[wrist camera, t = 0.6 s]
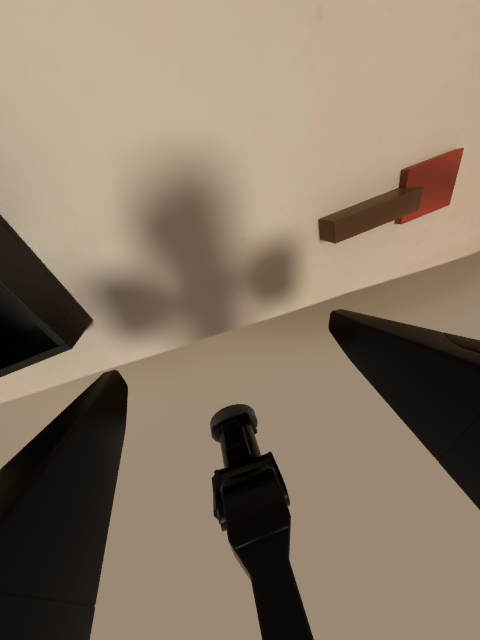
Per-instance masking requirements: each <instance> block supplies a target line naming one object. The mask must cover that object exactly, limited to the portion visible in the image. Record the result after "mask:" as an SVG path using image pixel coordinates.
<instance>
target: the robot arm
mask: <svg viewBox="0 0 480 640" xmlns="http://www.w3.org/2000/svg"><path fill="white" fill-rule="evenodd" d="M329 331H330V332H331V334H332V335H333V337H334V338H335V340H336V341H337V342H338V344H339V345H340V347H341V348H342V350H343V351H344V352H345V354H346V355H347V357H348V358H349V359H350V360H351V362H352V363H353V364H354V365H355V366H356V367H357V369H358V370H359V371H360V372H361V373H362V374H363V376H364V377H365V378H366V379H367V380H368V381H369V382H370V384H371V385H372V386H373V387H374V388H375V389H376V390H377V392H378V393H379V394H380V395H381V396H382V397H383V399H384V400H385V401H386V402H387V403H388V404H389V405H390V407H391V408H392V409H393V410H394V411H395V412H396V413H397V415H398V416H399V417H400V418H401V419H402V420H403V422H404V423H405V424H406V425H407V426H408V427H409V429H410V430H411V431H412V432H413V433H414V434H415V435H416V437H417V438H418V439H419V440H420V441H421V442H422V444H423V445H424V446H425V447H426V448H427V449H428V450H429V452H430V453H431V454H432V455H433V456H434V457H435V458H436V460H437V461H439V463H440V464H441V466H442V467H443V468H444V469H445V470H446V471H447V473H448V474H449V475H450V476H451V477H452V478H453V479H454V481H455V482H456V483H457V484H458V485H459V486H460V488H461V489H462V490H463V491H464V492H465V493H466V495H468V497H469V498H470V499H471V500H472V501H473V503H474V504H475V505H476V506H477V507H478V508H479V510H480V340H475V339H471V338H466V337H462V336H457V335H452V334H448V333H442V332H439V331H435V330H431V329H426V328H422V327H417V326H413V325H408V324H404V323H400V322H395V321H391V320H387V319H382V318H378V317H374V316H369V315H364V314H361V313H356V312H352V311H347V310H343V309H338V310H335V311H332V312H331V313H330V320H329ZM127 397H128V387H127V384H126V382H125V381H124V379H123V378H122V376H121V375H120V373H119V372H118V371H117V370H112V371H109V372H105V373H103V374H102V375H101V376H100V377H99V378H98V379H97V380H96V381H95V382H94V383H93V384H91V386H89V387H88V388H87V389H86V390H85V391H84V392H83V393H82V394H81V395H80V396H78V397H77V398H76V399H75V400H74V401H73V402H72V403H71V404H70V405H69V406H68V407H67V408H66V409H65V410H64V411H63V412H61V413H60V414H59V415H58V416H57V417H56V418H55V419H54V420H53V421H52V422H51V423H50V424H49V425H47V426H46V427H45V428H44V429H43V430H42V431H41V432H40V433H39V434H38V435H37V436H36V437H35V438H34V439H33V440H31V441H30V442H29V443H28V444H27V445H26V446H25V447H24V448H23V449H22V450H21V451H20V452H18V453H17V454H16V455H15V456H14V457H13V458H12V459H11V460H10V461H9V462H8V463H7V464H6V465H5V466H3V467H2V468H1V469H0V640H90V634H91V629H92V623H93V617H94V611H95V607H94V606H95V603H96V598H97V592H98V587H99V581H100V575H101V569H102V563H103V557H104V552H105V545H106V540H107V534H108V528H109V522H110V517H111V511H112V505H113V499H114V493H115V487H116V482H117V476H118V470H119V464H120V458H121V453H122V447H123V441H124V435H125V429H126V415H127ZM211 429H212V432H213V433H214V435H215V436H216V437H217V439H218V440H219V441H220V444H221V450H222V455H223V462H224V467H225V468H224V469H220V470H215V471H214V473H215V475H214V476H213V477H212V485H213V504H214V505H213V507H214V517H215V518H217V519H218V520H219V523H220V524H221V528H222V531H226V530H227V535H228V540H229V543H230V546H231V548H232V551H233V553H234V555H235V557H236V559H237V560H238V562H239V563H240V564H241V566H242V568H243V569H244V571H245V572H246V574H247V575H248V577H249V579H250V580H251V582H252V587H253V592H254V598H255V603H256V608H257V614H258V619H259V624H260V630H261V635H262V640H314V639H313V636H312V633H311V629H310V626H309V623H308V620H307V616H306V613H305V610H304V607H303V603H302V600H301V597H300V594H299V590H298V587H297V584H296V581H295V577H294V574H293V571H292V568H291V565H290V561H289V550H290V526H291V516H290V512H289V509H288V506H289V505H290V500H289V496H288V492H287V489H286V486H285V483H284V481H283V478H282V475H281V473H280V471H279V469H278V466H277V464H276V462H275V459H274V457H273V455H272V453H271V452H268V453H267V454H265V455H262V456H261V454H260V450H259V447H258V444H257V441H256V438H255V435H254V434H256V433H257V429H256V427H255V425H254V423H253V421H252V419H251V417H250V415H249V413H248V412H245V413H242V414H240V415H238V416H236V417H233V418H231V419H229V420H226V421H224V422H222V423H220V424H217V425H215V426H213V427H212V428H211Z"/></svg>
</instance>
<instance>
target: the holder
mask: <svg viewBox="0 0 480 640" xmlns="http://www.w3.org/2000/svg"><path fill="white" fill-rule="evenodd" d="M91 322H92V319H91V318H90V316H89V315H88V314H87V313H86V312H85V311H84V310H83V308H82V307H81V306H80V305H79V304H78V303H77V302H76V301H75V299H74V298H73V297H72V296H71V295H70V294H69V293H68V292H67V290H66V289H65V288H64V287H63V286H62V285H61V284H60V282H59V281H58V280H57V279H56V278H55V277H54V276H53V275H52V273H51V272H50V271H49V270H48V269H47V268H46V267H45V265H44V264H43V263H42V262H41V261H40V260H39V259H38V258H37V256H36V255H35V254H34V253H33V252H32V251H31V250H30V248H29V247H28V246H27V245H26V244H25V243H24V242H23V241H22V239H21V238H20V237H19V236H18V235H17V234H16V233H15V232H14V230H13V229H12V228H11V227H10V226H9V225H8V224H7V222H6V221H5V220H4V219H3V218H2V217H1V216H0V377H2V376H5V375H7V374H10V373H12V372H15V371H17V370H20V369H22V368H25V367H27V366H30V365H32V364H35V363H37V362H40V361H42V360H45V359H47V358H50V357H52V356H55V355H57V354H60V353H62V352H65V351H67V350H70V349H72V348H73V347H74V345H75V344H76V342H77V341H78V340H79V338H80V337H81V335H82V334H83V333H84V331H85V330H86V329H87V327H88V326H89V324H90V323H91Z"/></svg>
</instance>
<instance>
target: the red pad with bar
mask: <svg viewBox="0 0 480 640" xmlns="http://www.w3.org/2000/svg"><path fill="white" fill-rule="evenodd" d="M463 150H464V148H460V149H455V150H452V151H450V152H447V153H445V154H442V155H439V156H437V157H434V158H432V159H429V160H426V161H424V162H421V163H419V164H416V165H413V166H411V167H408V168H406V169H403V170H402V172H401V180H400V188H398V189H395V190H392V191H390V192H387V193H385V194H382V195H380V196H377V197H375V198H372V199H369V200H367V201H364V202H362V203H359V204H357V205H354V206H352V207H349V208H346V209H344V210H341V211H339V212H336V213H334V214H331V215H329V216H326V217H323V218H321V219H319V230H320V239H321V240H324V241H328V242H332V243H338V242H340V241H343V240H345V239H348V238H350V237H353V236H355V235H358V234H360V233H363V232H365V231H368V230H370V229H373V228H375V227H378V226H380V225H383V224H385V223H388V222H390V221H393V220H395V219H396V220H395V224H403V223H406V222H408V221H411V220H413V219H415V218H418V217H420V216H423V215H425V214H428V213H430V212H433V211H435V210H438V209H440V208H443V207H445V206H448V205H449V204H450V201H451V197H452V193H453V189H454V185H455V181H456V177H457V173H458V169H459V165H460V162H461V158H462V154H463Z"/></svg>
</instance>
